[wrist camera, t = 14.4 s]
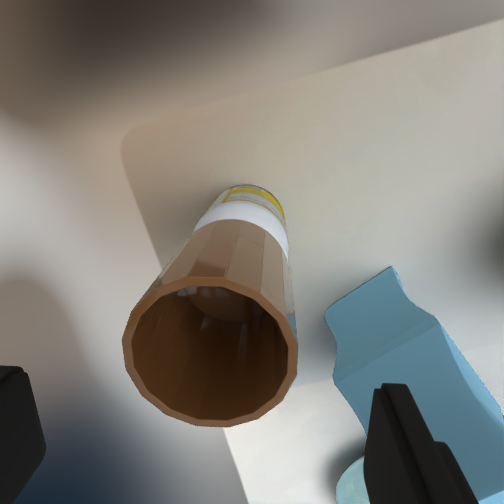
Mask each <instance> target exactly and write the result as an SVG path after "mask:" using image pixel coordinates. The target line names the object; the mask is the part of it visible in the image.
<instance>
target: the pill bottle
mask: <svg viewBox="0 0 504 504" xmlns="http://www.w3.org/2000/svg"><path fill="white" fill-rule="evenodd" d="M223 219H238V220H244V221H248V222H251V223H254V224H256V225H258V226H260V227H262V228H263V229H265V230H266V231H268V232H269V233H270V234H271V235H272V236H273V237H274V238H275V239H276V240H277V241H278V243H279V244H280V246H281V247H282V249H283V251H284V253H285V255H286V258H287V259H288V253H289V246H288V237H287V231H286V224H285V217H284V213H283V210H282V207H281V205H280V203H279V202H278V200H277V199H276V198H275V197H274V196H273V195H272V194H271V193H270V192H268V191H267V190H265V189H263V188H261V187H258V186H255V185H237V186H234V187H231V188H229V189H227V190H226V191H224V192H223V193H221V194H220V195H219V196H218V197H217V198H216V200H215V201H214V202H213V204H212V205H211V206H210V207H209V208H208V210H207V211H206V212H205V213H204V215H203V216H202V217H201V219H200V220H199V222H198V223H197V225H196V227H195V229H194V231H193V233H194V232H195V231H196V230H198V229H199V228H201V227H202V226H204V225H206V224H209V223H211V222H214V221H218V220H223Z"/></svg>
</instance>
